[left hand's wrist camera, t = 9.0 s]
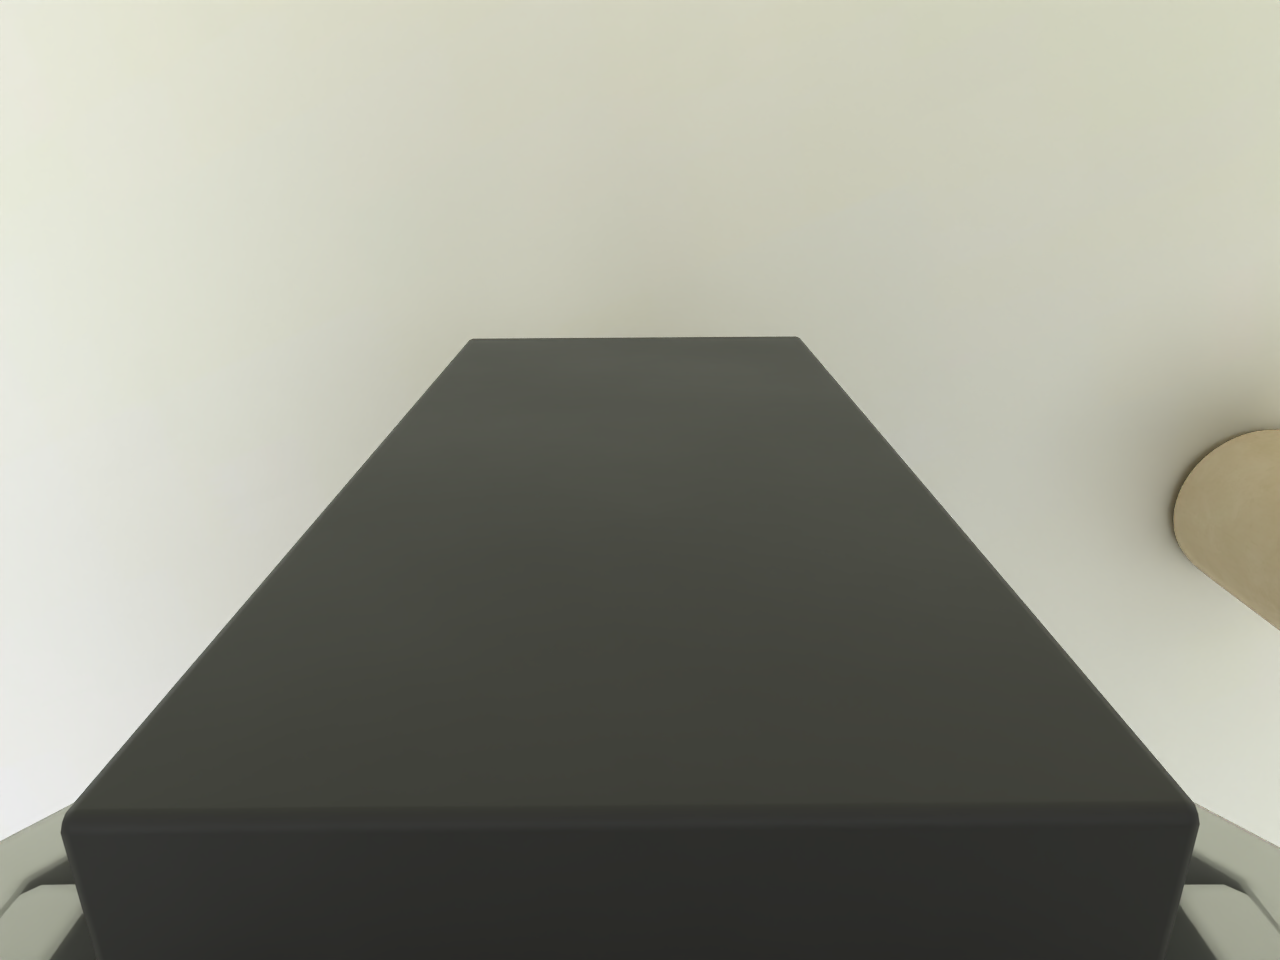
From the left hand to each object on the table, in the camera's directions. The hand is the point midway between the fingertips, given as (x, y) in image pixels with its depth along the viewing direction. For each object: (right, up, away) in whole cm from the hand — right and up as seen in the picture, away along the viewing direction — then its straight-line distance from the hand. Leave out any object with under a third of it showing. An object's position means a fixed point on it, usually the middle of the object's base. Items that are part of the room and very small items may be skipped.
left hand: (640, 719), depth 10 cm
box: (0, -8, +10) cm, 13 cm away
